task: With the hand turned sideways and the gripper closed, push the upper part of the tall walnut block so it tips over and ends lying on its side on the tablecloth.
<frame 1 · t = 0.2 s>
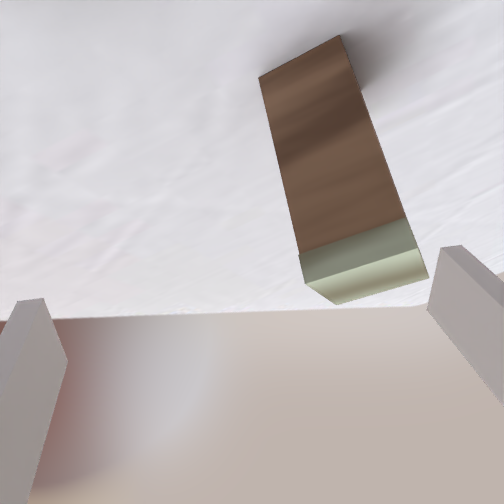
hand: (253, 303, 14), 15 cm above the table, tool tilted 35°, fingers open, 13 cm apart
walnut block: (312, 85, 26), on the table
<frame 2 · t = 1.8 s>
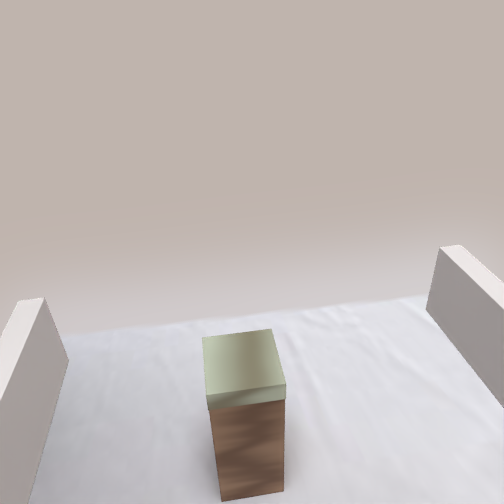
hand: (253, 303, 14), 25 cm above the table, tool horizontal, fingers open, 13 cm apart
walnut block: (248, 466, 36), on the table
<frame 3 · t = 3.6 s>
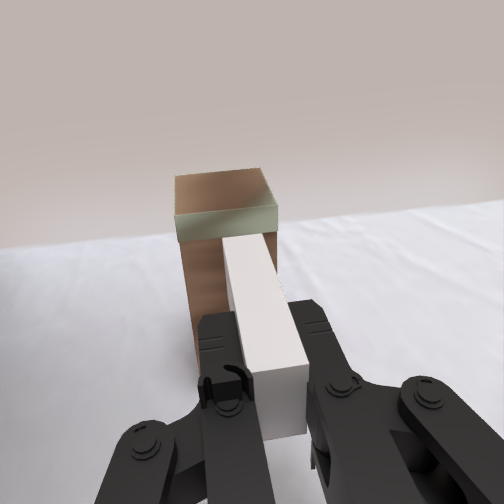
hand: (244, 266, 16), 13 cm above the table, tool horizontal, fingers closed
walnut block: (235, 359, 30), on the table
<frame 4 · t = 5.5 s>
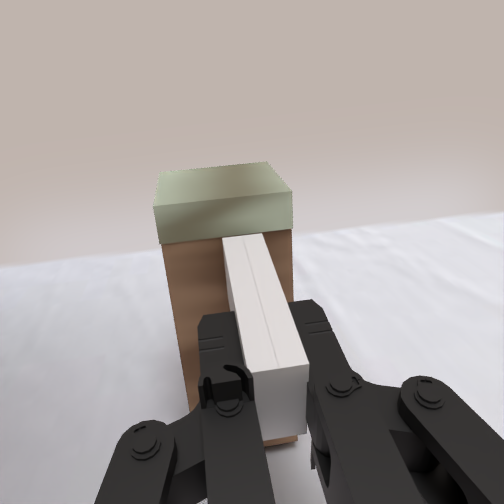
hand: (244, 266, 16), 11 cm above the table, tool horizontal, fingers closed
walnut block: (241, 411, 23), on the table, tilted 7°
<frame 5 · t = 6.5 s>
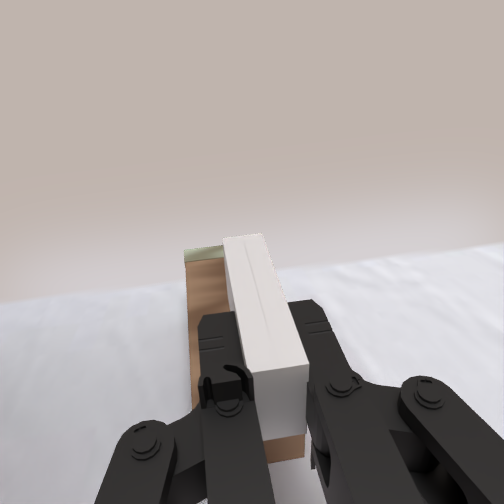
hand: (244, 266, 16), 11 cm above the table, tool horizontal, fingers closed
walnut block: (252, 435, 20), point 2 cm above the table, tilted 90°
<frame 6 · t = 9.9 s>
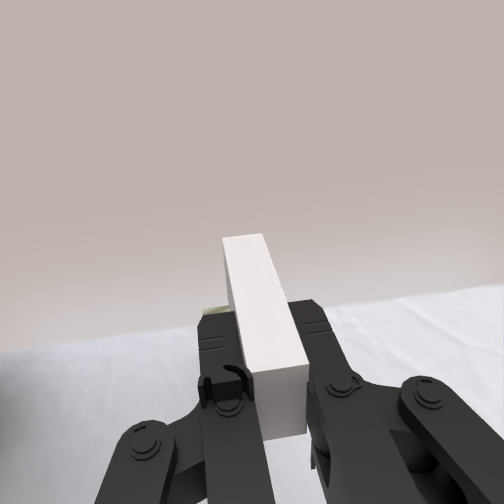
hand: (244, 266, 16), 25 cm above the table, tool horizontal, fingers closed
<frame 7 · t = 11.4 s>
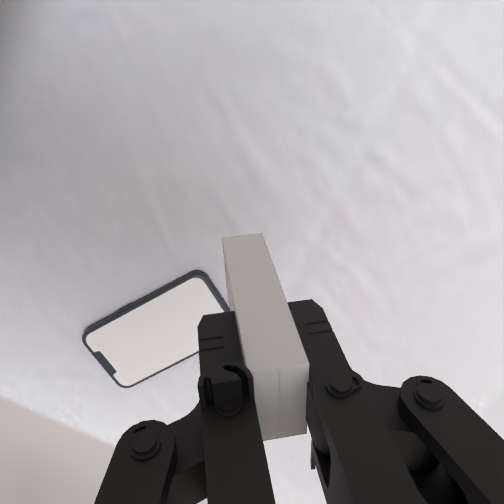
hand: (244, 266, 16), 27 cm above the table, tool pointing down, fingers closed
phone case: (162, 326, 48), on the table
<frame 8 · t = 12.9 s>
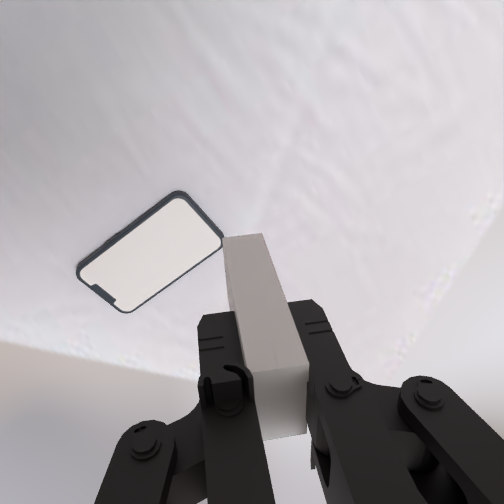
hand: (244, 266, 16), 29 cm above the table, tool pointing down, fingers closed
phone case: (151, 250, 49), on the table
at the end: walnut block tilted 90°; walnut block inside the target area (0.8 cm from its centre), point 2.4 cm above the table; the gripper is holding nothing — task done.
